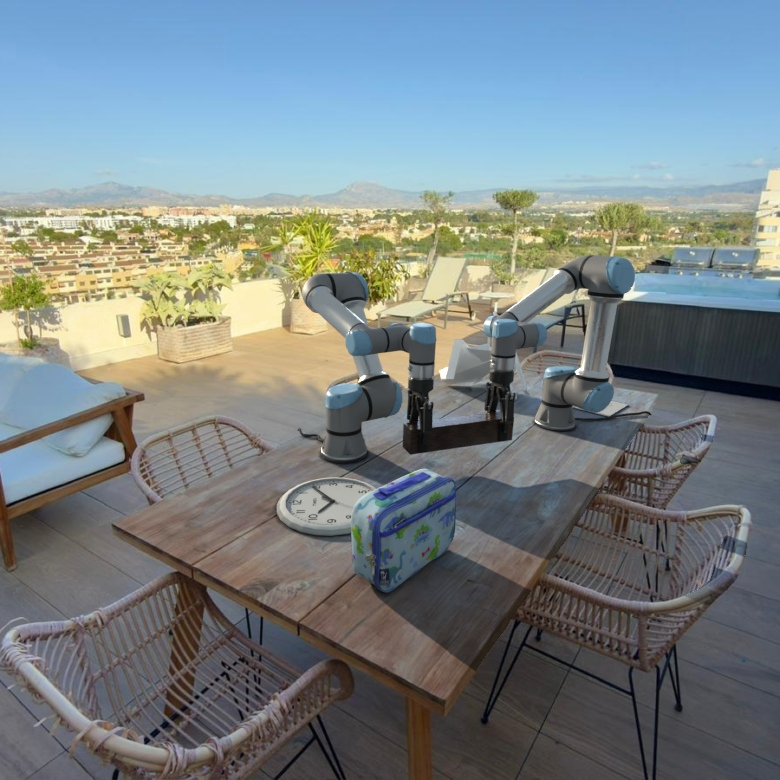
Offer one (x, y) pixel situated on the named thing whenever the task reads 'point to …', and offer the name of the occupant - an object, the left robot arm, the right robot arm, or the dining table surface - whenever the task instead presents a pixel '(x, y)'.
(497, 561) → the dining table surface
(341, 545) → the dining table surface
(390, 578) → the lunch box
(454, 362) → the white plastic object
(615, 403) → the invitation card
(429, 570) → the dining table surface
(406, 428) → the walnut beam
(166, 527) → the dining table surface
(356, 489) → the wall clock
